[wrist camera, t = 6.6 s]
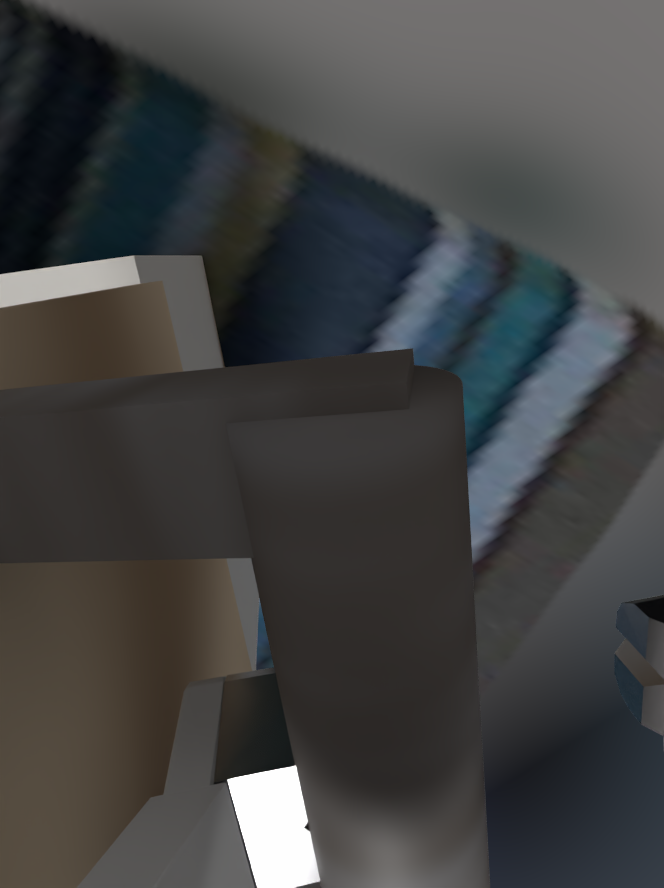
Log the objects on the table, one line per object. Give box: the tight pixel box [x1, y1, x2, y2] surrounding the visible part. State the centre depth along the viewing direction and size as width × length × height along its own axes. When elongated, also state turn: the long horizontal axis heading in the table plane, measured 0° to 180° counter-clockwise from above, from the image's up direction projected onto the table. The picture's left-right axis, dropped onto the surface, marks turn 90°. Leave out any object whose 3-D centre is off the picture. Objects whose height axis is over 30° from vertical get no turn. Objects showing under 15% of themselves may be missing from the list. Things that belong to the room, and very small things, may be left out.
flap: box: [0, 281, 490, 888], centre depth 8 cm, size 7×11×6 cm
